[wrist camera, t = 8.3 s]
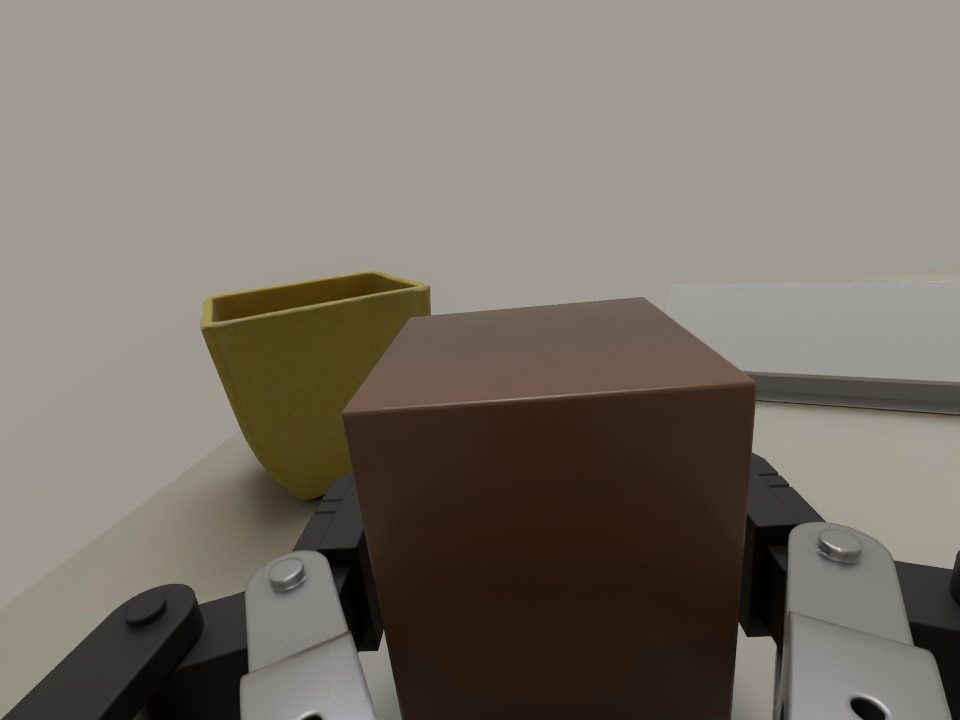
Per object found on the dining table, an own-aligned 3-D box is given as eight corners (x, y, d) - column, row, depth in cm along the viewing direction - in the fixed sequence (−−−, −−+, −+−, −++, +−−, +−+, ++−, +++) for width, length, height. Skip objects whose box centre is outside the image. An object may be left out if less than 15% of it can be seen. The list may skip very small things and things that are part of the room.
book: (659, 325, 44) (659, 280, 43) (1019, 331, 34) (1033, 273, 33) (628, 391, 31) (627, 329, 30) (1194, 432, 21) (1228, 342, 20)
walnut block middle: (717, 907, 9) (759, 381, 6) (439, 909, 9) (337, 413, 6) (642, 659, 14) (644, 296, 11) (460, 667, 14) (409, 316, 11)
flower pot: (246, 457, 28) (202, 294, 25) (398, 414, 31) (374, 267, 28) (259, 545, 20) (198, 326, 17) (458, 475, 24) (434, 284, 21)
